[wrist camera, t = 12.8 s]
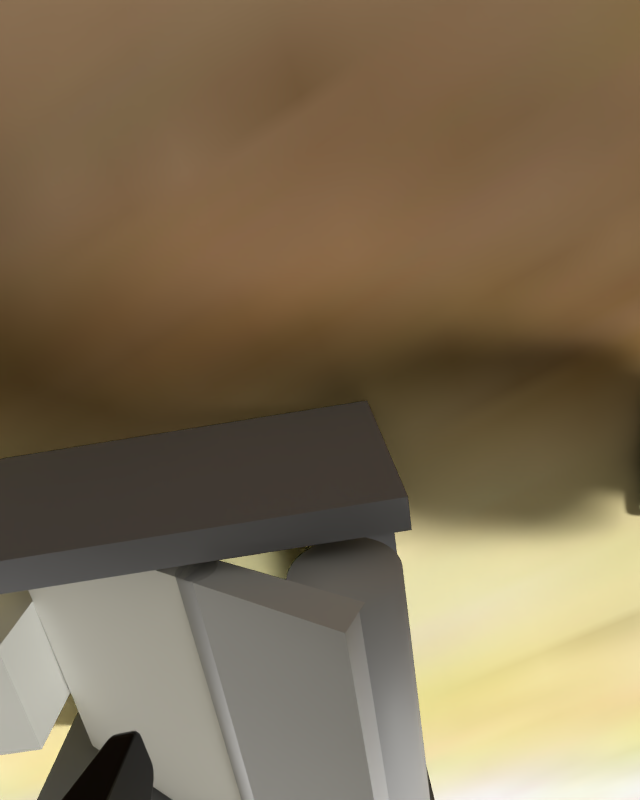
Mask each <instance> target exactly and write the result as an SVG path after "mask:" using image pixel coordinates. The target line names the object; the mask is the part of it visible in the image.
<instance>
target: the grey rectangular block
mask: <svg viewBox="0 0 640 800" xmlns="http://www.w3.org/2000/svg"><path fill="white" fill-rule="evenodd" d="M69 694H70V690H69V687H68V685H67V683H66V680H65V678H64V675H63V673H62V671H61V668H60V666H59V663H58V661H57V659H56V656H55V654H54V651H53V649H52V646H51V644H50V642H49V639H48V637H47V634H46V632H45V630H44V627H43V625H42V622H41V620H40V618H39V615H38V613H37V610H36V608H35V605H34V603H33V601H32V598H31V596H30V593H29V591H28V590H25V591H19V592H12V593H6V594H0V755H4V754H11V753H18V752H25V751H32V750H39V749H42V747H43V746H44V744H45V742H46V740H47V738H48V736H49V734H50V732H51V730H52V728H53V726H54V724H55V722H56V720H57V718H58V716H59V714H60V712H61V710H62V708H63V706H64V704H65V702H66V700H67V698H68V696H69Z"/></svg>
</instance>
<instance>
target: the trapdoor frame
mask: <svg viewBox="0 0 640 800" xmlns="http://www.w3.org/2000/svg"><path fill="white" fill-rule="evenodd" d="M407 530H412V529H411V520H410V511H409V502H408V496H407V493H406V491H405V489H404V486H403V484H402V482H401V479H400V477H399V475H398V472H397V470H396V468H395V465H394V463H393V461H392V458H391V456H390V454H389V451H388V449H387V447H386V444H385V442H384V439H383V437H382V435H381V432H380V430H379V428H378V425H377V423H376V421H375V418H374V416H373V414H372V411H371V409H370V407H369V404H368V402H367V401H361V402H355V403H349V404H342V405H336V406H330V407H323V408H317V409H311V410H305V411H298V412H292V413H286V414H280V415H273V416H267V417H261V418H254V419H248V420H242V421H236V422H229V423H223V424H217V425H210V426H204V427H198V428H192V429H185V430H179V431H173V432H166V433H160V434H154V435H148V436H141V437H135V438H129V439H123V440H116V441H110V442H104V443H97V444H91V445H85V446H79V447H72V448H66V449H60V450H53V451H47V452H41V453H35V454H28V455H22V456H16V457H9V458H3V459H0V594H6V593H12V592H19V591H25V590H32V589H38V588H44V587H51V586H57V585H63V584H70V583H76V582H82V581H89V580H95V579H102V578H108V577H114V576H121V575H127V574H133V573H140V572H146V571H152V570H159V569H165V568H172V567H178V566H184V565H191V564H197V563H203V562H210V561H216V560H222V559H229V558H235V557H242V556H248V555H254V554H261V553H267V552H273V551H280V550H286V549H292V548H299V547H305V546H312V545H318V544H324V543H331V542H337V541H343V540H350V539H356V538H362V537H364V538H370V539H374V540H377V541H379V542H382V543H384V544H386V545H387V546H389V547H390V548H392V549H393V550H394V551H395V552H396V553H397V550H396V542H395V534H394V532H401V531H407ZM98 752H99V750H98V749H97V748H95V747H94V746H93V745H92V743H91V741H90V738H89V736H88V733H87V731H86V728H85V726H84V724H83V721H82V719H81V716H80V714H79V712H78V713H77V715H76V717H75V719H74V722H73V724H72V726H71V728H70V730H69V732H68V734H67V737H66V739H65V741H64V743H63V745H62V747H61V749H60V752H59V754H58V756H57V758H56V760H55V762H54V764H53V767H52V769H51V771H50V773H49V775H48V777H47V779H46V782H45V784H44V786H43V788H42V790H41V792H40V794H39V797H38V799H37V800H61V799H62V798H63V796H64V795H65V794H66V793H67V791H68V790H69V789H70V788H71V786H72V785H73V784H74V782H75V781H76V780H77V779H78V777H79V776H80V775H81V773H82V772H83V771H84V770H85V768H86V767H87V766H88V764H89V763H90V762H91V761H92V759H93V758H94V757H95V755H96V754H97V753H98ZM426 769H427V767H426ZM427 777H428V785H429V794H430V800H434V796H433V792H432V787H431V783H430V779H429V775H428V771H427ZM151 800H172V799H170V798H169V797H167V796H166V795H165V794H163V793H162V792H160V791H159V790H157V789H156V788H154V787H153V790H152V798H151Z"/></svg>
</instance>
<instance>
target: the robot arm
mask: <svg viewBox="0 0 640 800" xmlns="http://www.w3.org/2000/svg"><path fill="white" fill-rule="evenodd" d="M153 781H154V771H153V765H152V762H151V759H150V757H149V754H148V752H147V749H146V747H145V744H144V742H143V740H142V737H141V735H140V733H138V732H137V731H129V732H124V733H118V734H115V735H113V736H111V737H110V738H109V739H108V740H107V741H106V743H105V744H104V745H103V746H102V748H101V749H100V750H99V752H98V753H97V754H96V755H95V757H94V758H93V759H92V761H91V762H90V763H89V764H88V766H87V767H86V768H85V770H84V771H83V772H82V773H81V775H80V776H79V777H78V779H77V780H76V781H75V782H74V784H73V785H72V786H71V788H70V789H69V790H68V791H67V793H66V794H65V795H64V796H63V798H62V799H61V800H151V798H152V790H153Z"/></svg>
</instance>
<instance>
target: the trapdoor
mask: <svg viewBox="0 0 640 800" xmlns="http://www.w3.org/2000/svg"><path fill="white" fill-rule="evenodd" d="M28 591H29V593H30V596H31V598H32V601H33V603H34V605H35V608H36V610H37V613H38V615H39V618H40V620H41V622H42V625H43V627H44V630H45V632H46V634H47V637H48V639H49V642H50V644H51V646H52V649H53V651H54V654H55V656H56V659H57V661H58V663H59V666H60V668H61V671H62V673H63V675H64V678H65V680H66V683H67V685H68V687H69V690H70V692H71V695H72V697H73V700H74V702H75V704H76V707H77V709H78V712H79V714H80V716H81V719H82V721H83V724H84V726H85V728H86V731H87V733H88V736H89V738H90V741H91V743H92V745H93V746H94V747H95V748H97V749H98V750H100V749H101V748H102V746H103V745H104V744H105V743H106V741H107V740H108V739H109V738H110V737H111V736H113V735H115V734H118V733H124V732H129V731H137V732H138V733H140V735H141V737H142V740H143V742H144V744H145V747H146V749H147V752H148V754H149V757H150V759H151V762H152V765H153V771H154V781H153V787H154V788H156V789H157V790H159V791H160V792H162V793H163V794H165V795H166V796H167V797H169V798H170V799H172V800H430V794H429V785H428V777H427V769H426V760H425V752H424V744H423V735H422V727H421V718H420V710H419V702H418V693H417V685H416V677H415V668H414V660H413V651H412V643H411V635H410V626H409V618H408V609H407V601H406V593H405V584H404V576H403V568H402V563H401V560H400V558H399V556H398V555H397V553H396V552H395V551H394V550H393V549H392V548H390V547H389V546H387V545H386V544H384V543H382V542H379V541H377V540H374V539H370V538H364V537H362V538H356V539H350V540H343V541H337V542H331V543H324V544H318V545H315V546H313V547H311V548H309V549H308V550H306V551H305V552H303V553H302V554H301V555H300V556H299V557H298V558H297V559H296V560H295V561H294V562H293V563H292V565H291V567H290V568H289V571H288V573H287V578H286V580H285V579H282V578H278V577H275V576H271V575H268V574H264V573H261V572H257V571H254V570H250V569H247V568H243V567H240V566H236V565H233V564H229V563H226V562H222V561H219V560H216V561H210V562H203V563H197V564H191V565H184V566H178V567H172V568H165V569H159V570H152V571H146V572H140V573H133V574H127V575H121V576H114V577H108V578H102V579H95V580H89V581H82V582H76V583H70V584H63V585H57V586H51V587H44V588H38V589H32V590H28Z"/></svg>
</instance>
